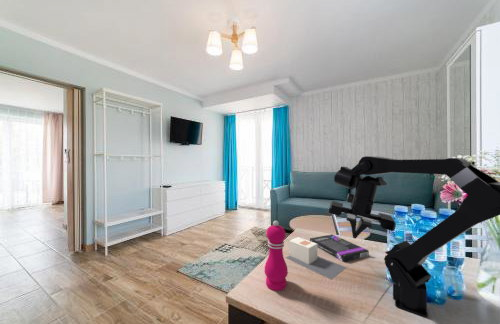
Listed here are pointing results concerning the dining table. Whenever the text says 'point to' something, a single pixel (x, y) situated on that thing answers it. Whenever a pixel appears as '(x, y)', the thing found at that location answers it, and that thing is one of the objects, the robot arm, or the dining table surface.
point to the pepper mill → (276, 258)
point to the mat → (321, 266)
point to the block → (303, 250)
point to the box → (340, 248)
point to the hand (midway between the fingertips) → (354, 237)
